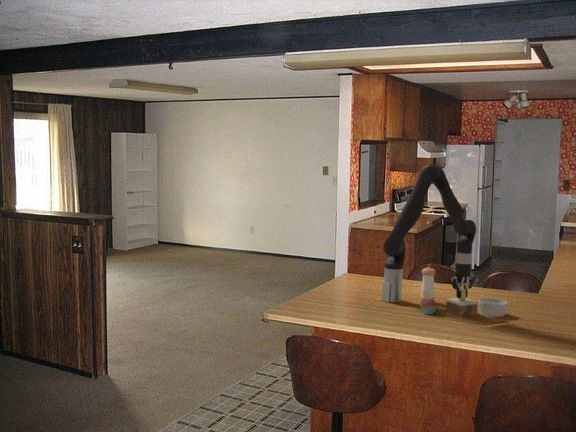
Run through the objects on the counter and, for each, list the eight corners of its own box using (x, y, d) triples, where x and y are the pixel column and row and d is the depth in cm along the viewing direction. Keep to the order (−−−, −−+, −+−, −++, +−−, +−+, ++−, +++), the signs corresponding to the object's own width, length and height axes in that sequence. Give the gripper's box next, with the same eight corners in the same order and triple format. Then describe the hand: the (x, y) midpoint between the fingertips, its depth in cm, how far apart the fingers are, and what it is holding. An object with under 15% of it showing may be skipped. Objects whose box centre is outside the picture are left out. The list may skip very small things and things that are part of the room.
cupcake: (427, 317, 286) (428, 292, 285) (415, 313, 293) (416, 288, 292) (441, 315, 290) (442, 290, 288) (429, 311, 297) (430, 287, 296)
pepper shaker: (417, 303, 312) (418, 266, 310) (424, 301, 317) (426, 264, 315) (429, 306, 307) (431, 268, 305) (437, 303, 313) (438, 266, 311)
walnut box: (460, 318, 285) (460, 306, 284) (445, 313, 294) (446, 301, 293) (476, 316, 289) (477, 304, 288) (461, 311, 298) (462, 299, 297)
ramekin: (503, 312, 298) (503, 298, 297) (510, 319, 285) (511, 305, 284) (475, 311, 299) (476, 297, 299) (481, 318, 286) (481, 303, 286)
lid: (461, 305, 284) (461, 292, 283) (446, 301, 293) (447, 287, 292) (477, 304, 288) (478, 290, 288) (462, 299, 297) (463, 286, 296)
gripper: (457, 264, 282) (455, 300, 284) (480, 262, 288) (478, 298, 290) (446, 261, 289) (444, 297, 291) (469, 259, 295) (467, 294, 297)
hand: (461, 297), depth 290 cm, fingers closed on lid, 3 cm apart
